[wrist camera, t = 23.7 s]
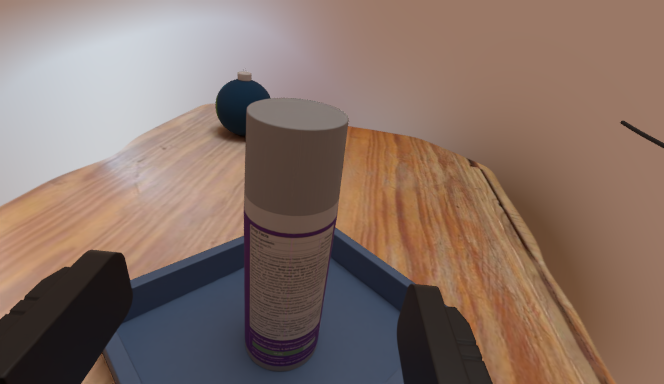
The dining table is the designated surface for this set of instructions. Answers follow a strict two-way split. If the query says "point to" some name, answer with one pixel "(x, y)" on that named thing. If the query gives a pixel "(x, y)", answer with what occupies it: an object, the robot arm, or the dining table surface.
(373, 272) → the tray
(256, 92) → the christmas ornament
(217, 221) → the dining table surface
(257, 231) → the container
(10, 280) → the dining table surface
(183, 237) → the dining table surface
